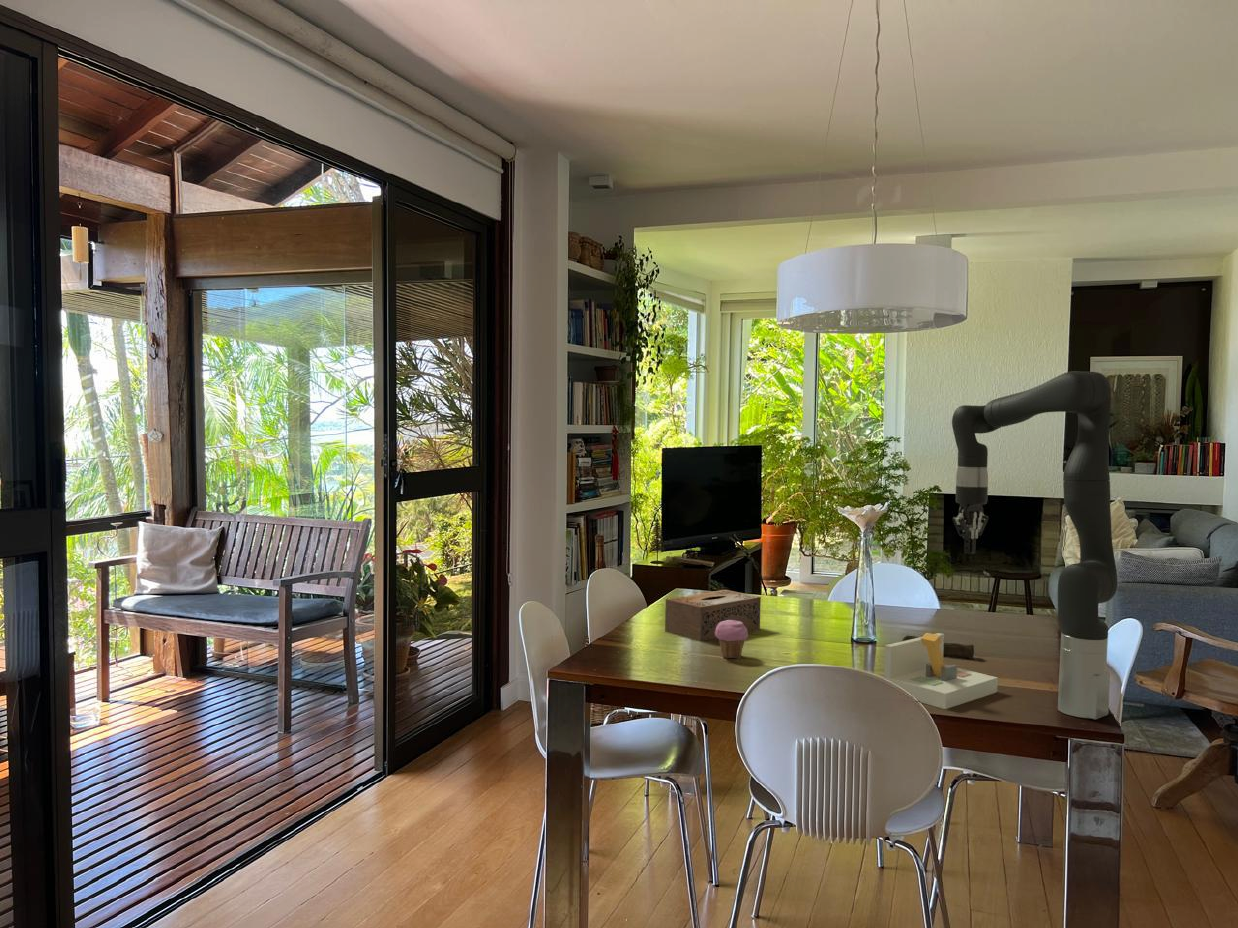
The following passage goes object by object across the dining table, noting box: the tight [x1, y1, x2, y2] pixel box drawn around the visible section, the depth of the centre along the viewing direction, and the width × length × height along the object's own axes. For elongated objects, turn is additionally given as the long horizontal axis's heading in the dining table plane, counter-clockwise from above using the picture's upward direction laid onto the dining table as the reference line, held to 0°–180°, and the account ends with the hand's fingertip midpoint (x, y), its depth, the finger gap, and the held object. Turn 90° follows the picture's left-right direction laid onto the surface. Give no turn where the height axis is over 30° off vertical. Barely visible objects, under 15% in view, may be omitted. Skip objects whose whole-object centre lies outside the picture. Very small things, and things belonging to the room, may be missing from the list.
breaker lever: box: [921, 632, 946, 676], centre depth 216 cm, size 2×4×10 cm, turn 39°
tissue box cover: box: [664, 589, 762, 642], centre depth 277 cm, size 26×14×10 cm, turn 130°
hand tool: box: [901, 635, 975, 661], centre depth 253 cm, size 19×4×5 cm, turn 64°
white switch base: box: [883, 632, 999, 710], centre depth 218 cm, size 22×16×11 cm
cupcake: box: [715, 620, 749, 659], centre depth 246 cm, size 9×9×10 cm
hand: (969, 553), depth 234 cm, fingers closed
